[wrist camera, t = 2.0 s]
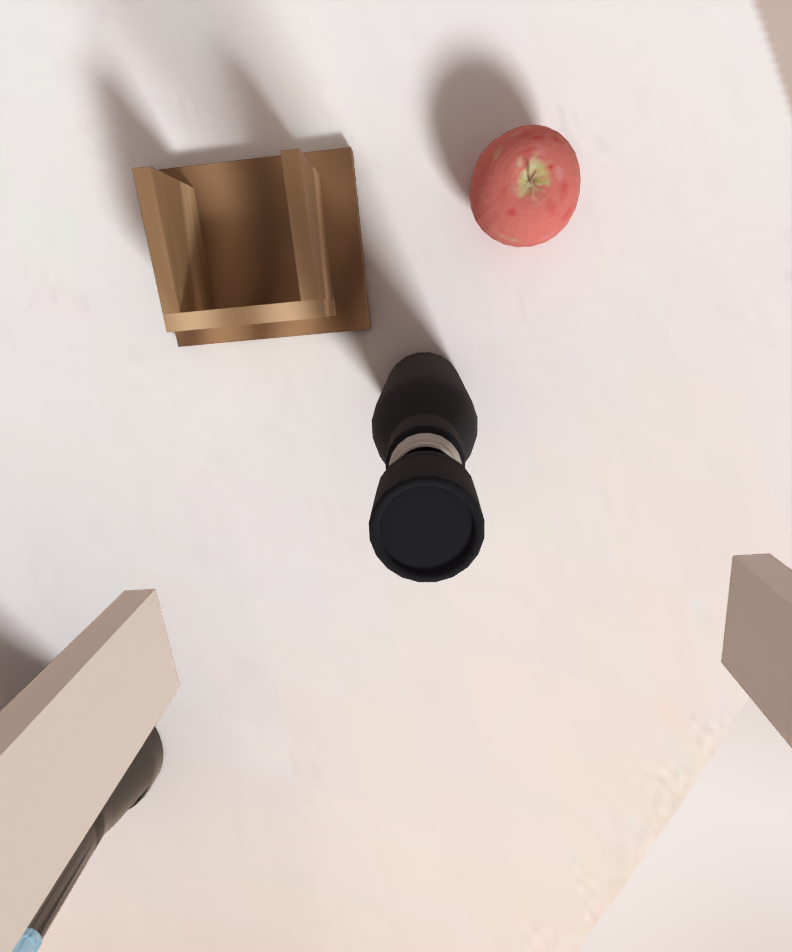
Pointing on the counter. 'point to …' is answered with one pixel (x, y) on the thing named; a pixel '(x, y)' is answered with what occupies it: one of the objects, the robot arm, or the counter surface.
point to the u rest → (256, 246)
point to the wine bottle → (425, 472)
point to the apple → (525, 186)
